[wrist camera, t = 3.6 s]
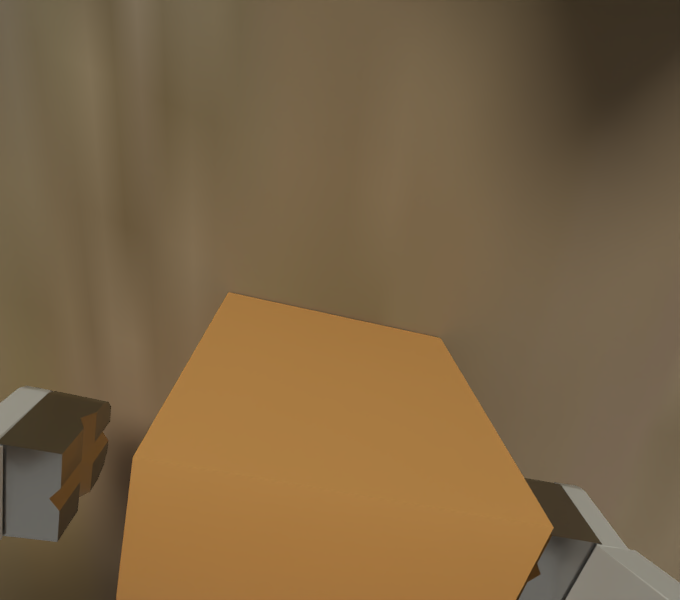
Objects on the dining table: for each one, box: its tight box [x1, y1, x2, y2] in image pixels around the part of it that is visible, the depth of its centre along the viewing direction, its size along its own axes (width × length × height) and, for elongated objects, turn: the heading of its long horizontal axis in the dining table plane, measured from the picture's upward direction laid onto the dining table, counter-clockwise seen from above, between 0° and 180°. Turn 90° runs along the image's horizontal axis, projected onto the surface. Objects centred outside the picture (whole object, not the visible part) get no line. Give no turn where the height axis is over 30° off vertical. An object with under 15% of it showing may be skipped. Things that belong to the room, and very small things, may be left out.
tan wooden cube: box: [116, 292, 554, 600], centre depth 9 cm, size 5×5×6 cm
